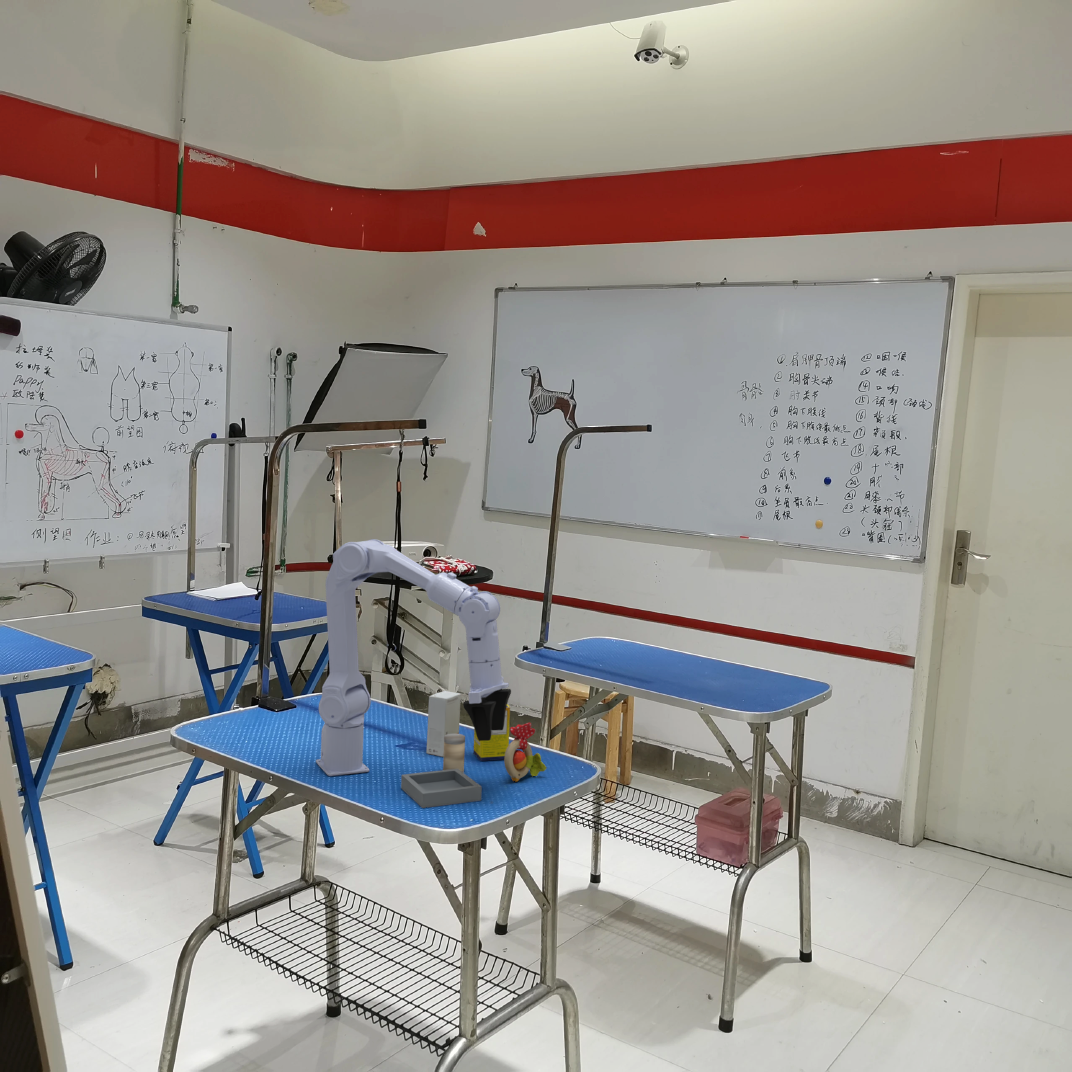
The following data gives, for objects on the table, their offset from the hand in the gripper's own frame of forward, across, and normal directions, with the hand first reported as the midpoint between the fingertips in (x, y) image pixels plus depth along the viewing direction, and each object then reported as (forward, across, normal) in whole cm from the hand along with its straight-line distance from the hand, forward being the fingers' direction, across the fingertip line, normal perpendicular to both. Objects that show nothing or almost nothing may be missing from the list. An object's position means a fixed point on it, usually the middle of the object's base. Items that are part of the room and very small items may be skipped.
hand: (491, 735), depth 181 cm
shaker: (+9, +8, +11) cm, 17 cm away
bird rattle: (+11, +10, -2) cm, 15 cm away
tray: (+9, -4, +9) cm, 14 cm away
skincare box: (+8, +20, +18) cm, 28 cm away
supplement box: (+10, +21, +8) cm, 24 cm away
